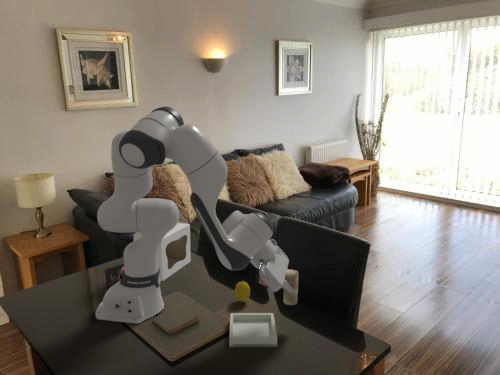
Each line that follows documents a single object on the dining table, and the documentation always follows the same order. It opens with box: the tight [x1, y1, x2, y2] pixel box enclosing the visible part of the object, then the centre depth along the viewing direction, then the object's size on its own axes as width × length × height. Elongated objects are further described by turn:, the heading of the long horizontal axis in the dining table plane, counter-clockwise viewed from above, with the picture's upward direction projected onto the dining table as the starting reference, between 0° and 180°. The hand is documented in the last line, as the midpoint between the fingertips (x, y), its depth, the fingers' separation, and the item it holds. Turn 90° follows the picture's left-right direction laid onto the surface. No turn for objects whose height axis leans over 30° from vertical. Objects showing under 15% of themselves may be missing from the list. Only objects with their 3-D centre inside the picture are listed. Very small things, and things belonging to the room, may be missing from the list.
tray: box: [228, 312, 278, 348], centre depth 126 cm, size 14×14×3 cm
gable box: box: [133, 208, 192, 282], centre depth 170 cm, size 22×13×28 cm, turn 157°
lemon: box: [234, 280, 251, 303], centre depth 145 cm, size 6×6×8 cm
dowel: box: [282, 269, 299, 306], centre depth 128 cm, size 4×4×10 cm
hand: (292, 286), depth 128 cm, fingers closed on dowel, 4 cm apart
